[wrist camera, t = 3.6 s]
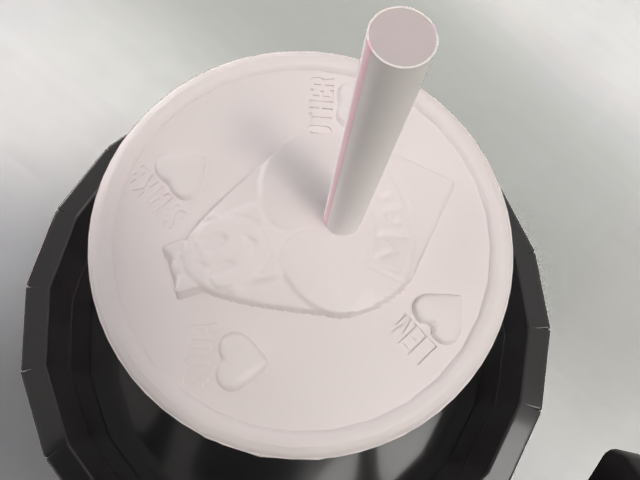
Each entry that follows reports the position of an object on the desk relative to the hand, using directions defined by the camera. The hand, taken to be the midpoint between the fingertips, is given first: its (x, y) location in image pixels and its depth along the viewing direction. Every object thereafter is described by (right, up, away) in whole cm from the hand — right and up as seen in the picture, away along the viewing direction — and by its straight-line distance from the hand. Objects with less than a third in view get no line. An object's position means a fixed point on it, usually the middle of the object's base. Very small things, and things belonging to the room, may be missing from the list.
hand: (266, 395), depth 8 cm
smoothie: (0, -1, +10) cm, 10 cm away
